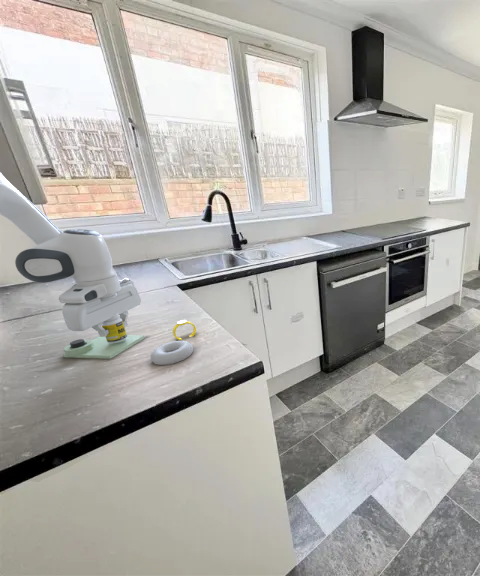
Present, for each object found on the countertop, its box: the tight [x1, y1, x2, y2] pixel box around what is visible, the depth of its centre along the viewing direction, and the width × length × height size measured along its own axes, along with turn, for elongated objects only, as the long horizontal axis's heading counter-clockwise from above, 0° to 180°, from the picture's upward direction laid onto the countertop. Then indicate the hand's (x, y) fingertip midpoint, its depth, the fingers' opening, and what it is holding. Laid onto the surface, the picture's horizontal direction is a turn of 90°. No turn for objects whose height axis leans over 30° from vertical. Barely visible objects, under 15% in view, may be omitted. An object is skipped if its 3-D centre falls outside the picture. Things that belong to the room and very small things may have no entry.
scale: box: [63, 334, 146, 360], centre depth 92 cm, size 14×12×3 cm
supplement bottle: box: [101, 313, 128, 343], centre depth 91 cm, size 5×5×8 cm
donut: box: [150, 340, 194, 366], centre depth 86 cm, size 10×4×10 cm
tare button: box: [69, 338, 86, 349], centre depth 88 cm, size 3×3×2 cm
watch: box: [172, 319, 197, 341], centre depth 96 cm, size 6×3×6 cm, turn 136°
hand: (114, 330), depth 92 cm, fingers closed on supplement bottle, 5 cm apart
